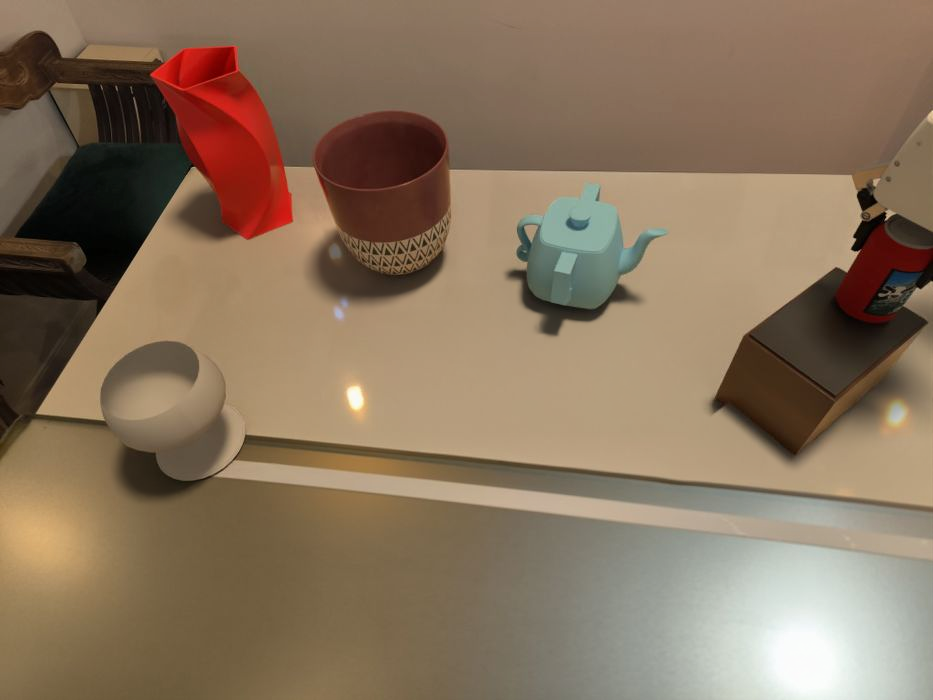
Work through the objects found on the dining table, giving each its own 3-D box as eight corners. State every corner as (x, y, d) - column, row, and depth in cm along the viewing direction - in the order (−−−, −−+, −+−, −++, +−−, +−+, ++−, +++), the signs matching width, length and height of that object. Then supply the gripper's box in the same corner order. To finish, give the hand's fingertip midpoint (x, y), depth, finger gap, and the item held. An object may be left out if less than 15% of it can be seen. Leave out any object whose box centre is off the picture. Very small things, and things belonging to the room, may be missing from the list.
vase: (310, 195, 116) (262, 47, 94) (279, 245, 107) (218, 96, 85) (239, 187, 119) (176, 42, 97) (203, 236, 110) (125, 90, 88)
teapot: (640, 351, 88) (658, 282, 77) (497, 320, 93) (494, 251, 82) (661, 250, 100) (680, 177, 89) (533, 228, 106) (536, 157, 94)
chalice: (273, 438, 83) (232, 375, 71) (181, 509, 77) (121, 453, 65) (219, 382, 89) (174, 315, 78) (132, 443, 84) (69, 381, 72)
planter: (326, 287, 100) (287, 178, 83) (373, 212, 111) (347, 103, 94) (436, 310, 95) (419, 200, 79) (474, 229, 107) (466, 118, 90)
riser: (797, 334, 88) (837, 264, 77) (875, 387, 82) (931, 319, 71) (713, 398, 82) (744, 333, 71) (790, 461, 76) (837, 400, 65)
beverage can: (877, 336, 70) (933, 260, 60) (821, 305, 73) (866, 229, 64) (905, 306, 72) (964, 228, 63) (850, 277, 76) (898, 199, 66)
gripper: (1125, 141, 50) (991, 291, 64) (918, 64, 59) (840, 210, 73) (1081, 179, 47) (952, 326, 61) (872, 92, 56) (801, 237, 71)
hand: (892, 262), depth 67 cm, fingers closed on beverage can, 6 cm apart
